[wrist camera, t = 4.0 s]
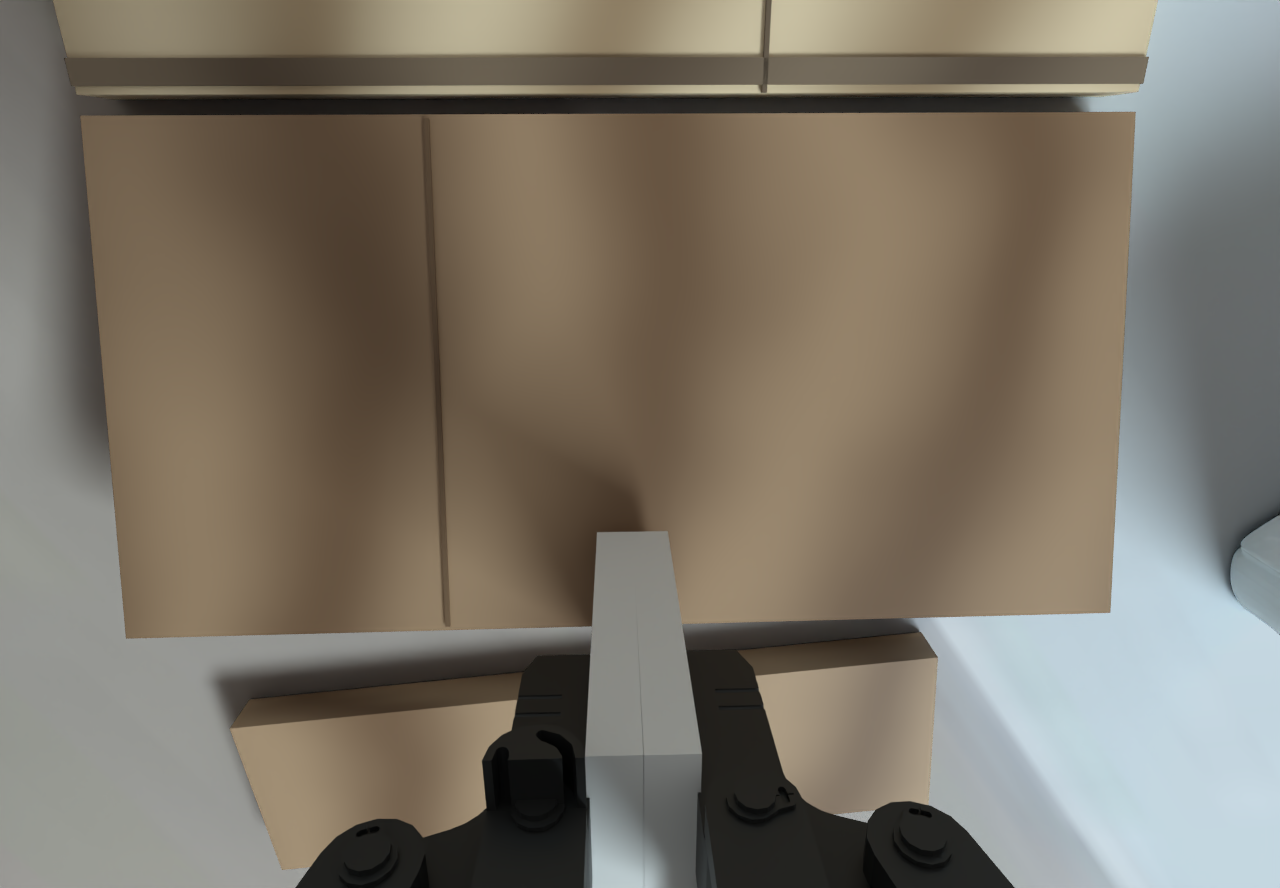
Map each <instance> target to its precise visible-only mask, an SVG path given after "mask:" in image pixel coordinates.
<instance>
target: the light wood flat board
mask: <svg viewBox="0 0 1280 888" xmlns="http://www.w3.org/2000/svg"><path fill="white" fill-rule="evenodd" d="M1157 2H1158V0H53V3H54V7H55V11H56V15H57V19H58V23H59V27H60V31H61V35H62V39H63V43H64V47H65V51H66V55H67V58H64V60H65V64H66V68H67V72H68V75H69V79H70V83H71V86H75V90H76V94H77V95H84V96H92V97H99V98H107V99H442V98H797V97H1104V96H1111V95H1119V94H1126V93H1133V92H1138V91H1139V86H1140V84H1143V82H1144V77H1145V73H1146V68H1147V63H1148V59H1149V57H1146V53H1147V49H1148V44H1149V39H1150V35H1151V30H1152V25H1153V21H1154V16H1155V11H1156V7H1157Z"/></svg>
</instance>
